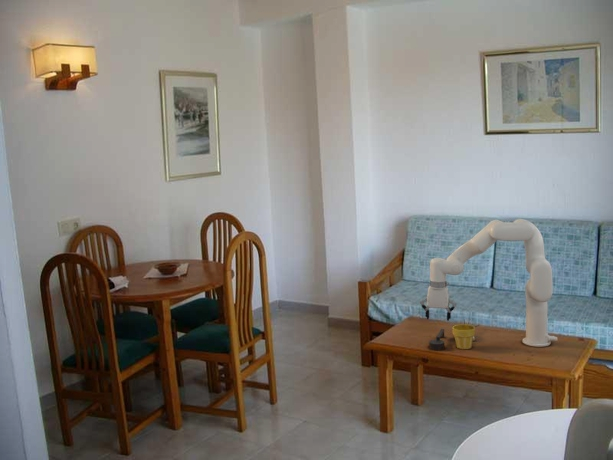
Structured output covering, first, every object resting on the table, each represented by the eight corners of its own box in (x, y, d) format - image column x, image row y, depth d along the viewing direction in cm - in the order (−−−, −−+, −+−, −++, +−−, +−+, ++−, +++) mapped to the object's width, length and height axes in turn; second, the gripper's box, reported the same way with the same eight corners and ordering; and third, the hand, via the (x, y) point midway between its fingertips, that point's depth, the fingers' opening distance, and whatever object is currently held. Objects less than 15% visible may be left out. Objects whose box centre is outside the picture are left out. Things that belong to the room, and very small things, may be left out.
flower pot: (448, 347, 312) (447, 327, 311) (460, 342, 319) (460, 322, 318) (467, 352, 305) (466, 331, 303) (479, 346, 312) (479, 326, 310)
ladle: (443, 350, 308) (443, 342, 307) (428, 349, 310) (427, 341, 310) (449, 337, 328) (449, 329, 327) (435, 336, 330) (435, 328, 329)
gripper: (457, 283, 314) (457, 318, 317) (421, 281, 320) (421, 315, 323) (455, 287, 307) (455, 322, 310) (418, 285, 313) (418, 320, 316)
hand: (438, 319), depth 316 cm, fingers open, 9 cm apart
